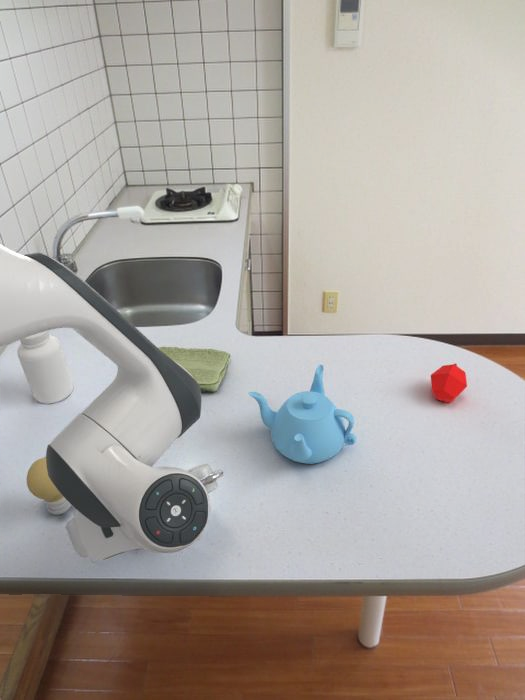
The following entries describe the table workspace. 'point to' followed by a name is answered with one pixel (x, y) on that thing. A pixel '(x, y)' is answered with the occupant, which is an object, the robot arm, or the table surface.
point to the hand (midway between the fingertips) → (138, 503)
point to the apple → (448, 382)
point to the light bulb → (46, 488)
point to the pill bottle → (45, 367)
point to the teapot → (307, 424)
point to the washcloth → (201, 364)
